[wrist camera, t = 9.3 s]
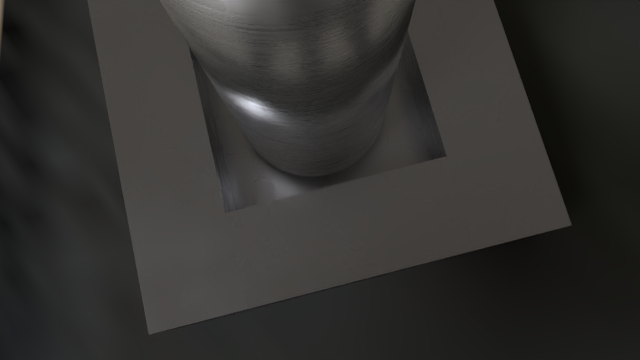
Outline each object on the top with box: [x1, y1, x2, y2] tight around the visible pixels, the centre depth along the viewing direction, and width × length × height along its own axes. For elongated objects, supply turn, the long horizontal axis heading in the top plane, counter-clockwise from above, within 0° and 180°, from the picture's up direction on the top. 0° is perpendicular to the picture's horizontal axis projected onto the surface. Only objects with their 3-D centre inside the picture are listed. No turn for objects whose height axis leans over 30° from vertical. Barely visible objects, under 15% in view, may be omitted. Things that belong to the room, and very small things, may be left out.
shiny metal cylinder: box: [160, 0, 416, 176], centre depth 13 cm, size 5×5×11 cm
